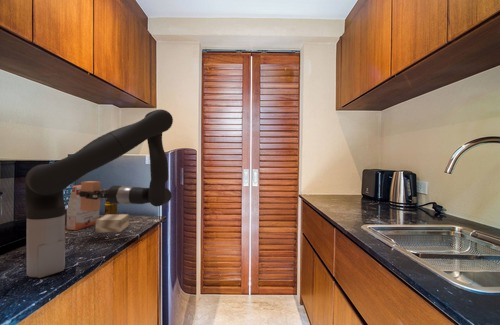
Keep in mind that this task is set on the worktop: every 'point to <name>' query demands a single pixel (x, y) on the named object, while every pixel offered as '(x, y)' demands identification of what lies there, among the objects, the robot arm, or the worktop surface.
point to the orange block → (90, 203)
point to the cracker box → (79, 212)
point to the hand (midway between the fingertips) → (85, 193)
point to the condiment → (110, 208)
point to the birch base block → (112, 223)
